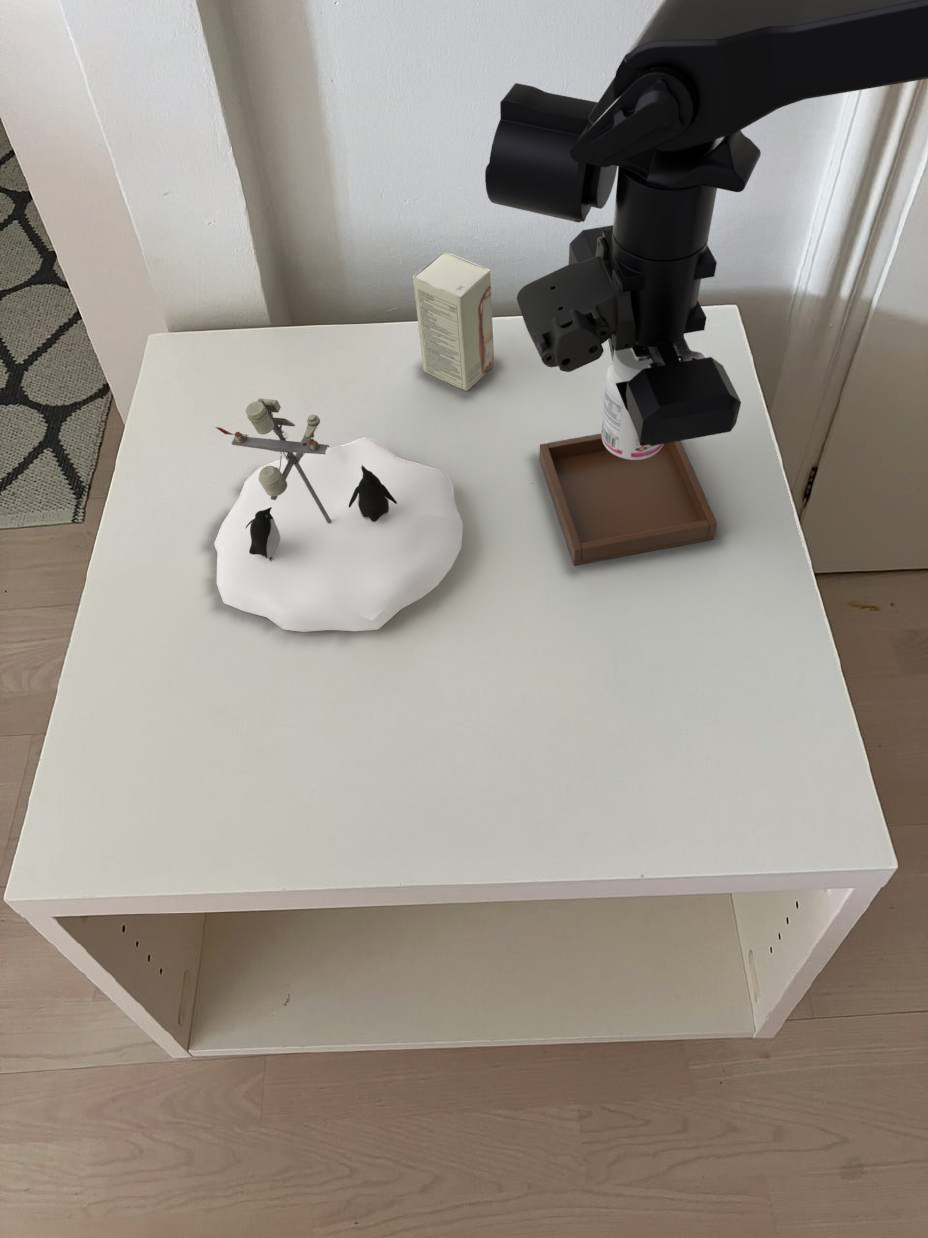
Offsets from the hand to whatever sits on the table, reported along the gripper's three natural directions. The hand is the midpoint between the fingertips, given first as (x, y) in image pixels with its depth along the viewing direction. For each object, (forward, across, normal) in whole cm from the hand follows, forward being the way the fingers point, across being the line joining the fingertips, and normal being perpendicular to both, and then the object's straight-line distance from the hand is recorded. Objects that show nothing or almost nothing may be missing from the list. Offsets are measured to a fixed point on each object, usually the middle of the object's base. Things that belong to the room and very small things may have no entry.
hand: (636, 418), depth 74 cm
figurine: (+9, -1, -23) cm, 25 cm away
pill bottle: (+2, 0, 0) cm, 2 cm away
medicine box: (+9, -18, -10) cm, 23 cm away
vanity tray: (+9, 0, 0) cm, 9 cm away
